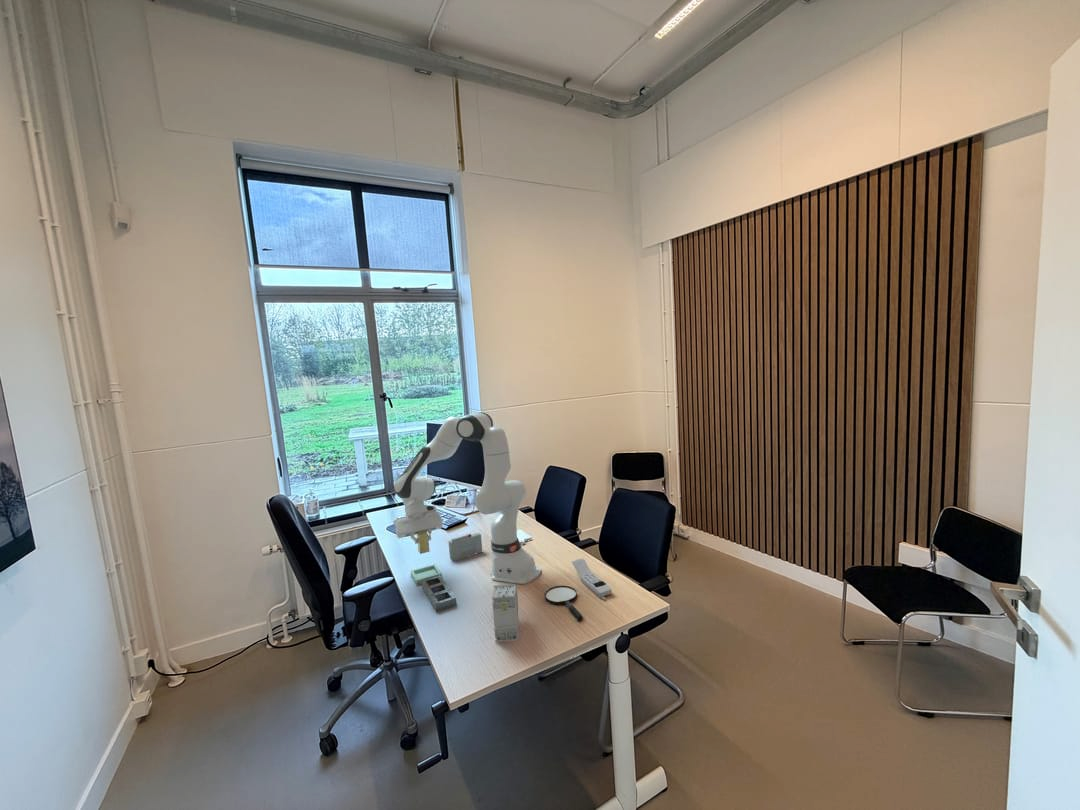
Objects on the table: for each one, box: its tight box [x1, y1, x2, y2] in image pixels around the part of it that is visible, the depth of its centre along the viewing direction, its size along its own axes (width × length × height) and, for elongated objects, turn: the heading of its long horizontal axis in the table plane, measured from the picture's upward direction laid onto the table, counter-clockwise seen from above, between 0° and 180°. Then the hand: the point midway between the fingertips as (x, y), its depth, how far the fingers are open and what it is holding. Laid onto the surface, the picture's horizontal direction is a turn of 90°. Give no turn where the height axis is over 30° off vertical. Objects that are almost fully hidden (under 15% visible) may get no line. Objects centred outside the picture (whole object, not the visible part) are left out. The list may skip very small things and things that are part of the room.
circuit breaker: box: [491, 583, 520, 643], centre depth 147 cm, size 8×14×15 cm, turn 2°
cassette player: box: [448, 532, 483, 562], centre depth 208 cm, size 16×3×10 cm, turn 122°
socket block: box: [421, 575, 458, 613], centre depth 172 cm, size 22×8×3 cm, turn 29°
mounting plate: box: [517, 529, 533, 546], centre depth 224 cm, size 18×13×2 cm
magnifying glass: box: [544, 585, 584, 622], centre depth 160 cm, size 12×24×2 cm, turn 20°
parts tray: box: [410, 563, 443, 586], centre depth 189 cm, size 11×11×2 cm
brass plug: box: [416, 531, 430, 555], centre depth 188 cm, size 4×4×8 cm
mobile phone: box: [571, 558, 612, 601], centre depth 172 cm, size 6×6×25 cm
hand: (423, 541), depth 187 cm, fingers closed on brass plug, 4 cm apart
